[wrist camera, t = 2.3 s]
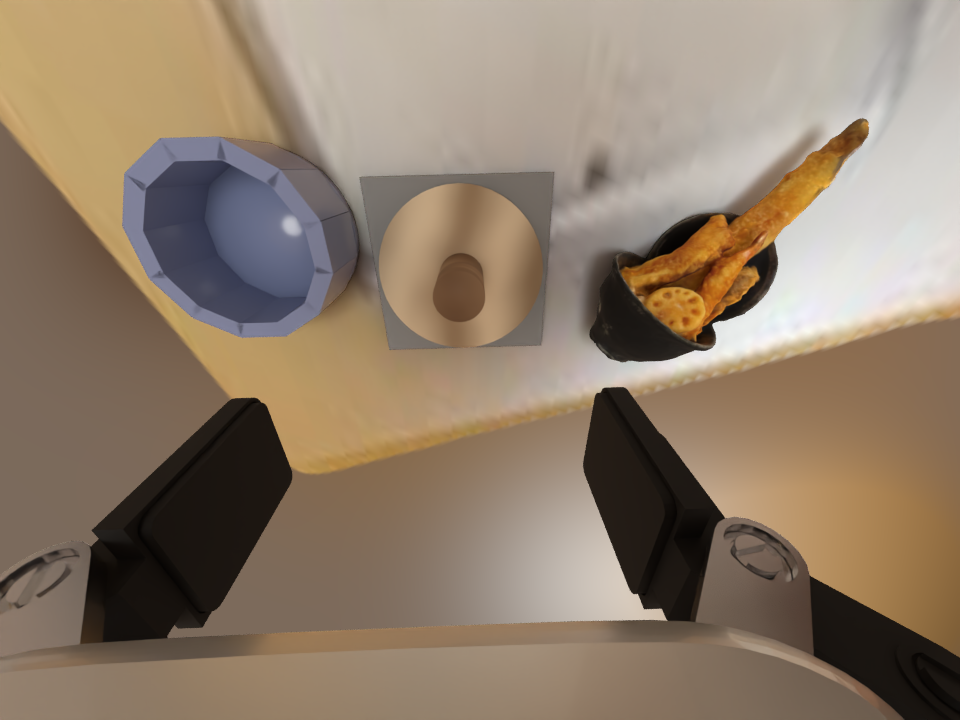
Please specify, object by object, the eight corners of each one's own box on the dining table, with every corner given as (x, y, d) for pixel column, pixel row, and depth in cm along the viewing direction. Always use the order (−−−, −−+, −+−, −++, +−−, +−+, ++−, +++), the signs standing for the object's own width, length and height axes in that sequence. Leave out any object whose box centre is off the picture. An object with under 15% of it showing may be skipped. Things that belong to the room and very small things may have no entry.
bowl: (340, 142, 22) (300, 134, 17) (371, 303, 28) (347, 334, 22) (171, 146, 22) (78, 140, 17) (235, 306, 28) (179, 339, 22)
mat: (552, 172, 23) (554, 172, 23) (540, 342, 30) (541, 345, 29) (362, 176, 23) (359, 177, 23) (391, 346, 30) (389, 349, 29)
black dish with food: (546, 333, 24) (850, 15, 12) (584, 283, 32) (788, 62, 20) (646, 419, 24) (1065, 181, 12) (659, 346, 32) (913, 161, 20)
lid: (546, 180, 23) (567, 184, 18) (535, 340, 29) (549, 378, 24) (368, 185, 23) (337, 190, 18) (394, 344, 29) (377, 383, 24)
